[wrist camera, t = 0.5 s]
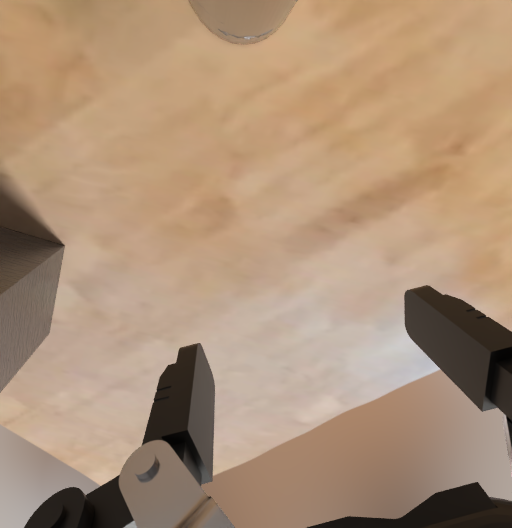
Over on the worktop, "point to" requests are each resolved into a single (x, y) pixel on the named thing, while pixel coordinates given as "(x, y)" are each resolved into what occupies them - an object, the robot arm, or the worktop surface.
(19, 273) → the gray grooved tower
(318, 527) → the robot arm
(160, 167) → the worktop surface
